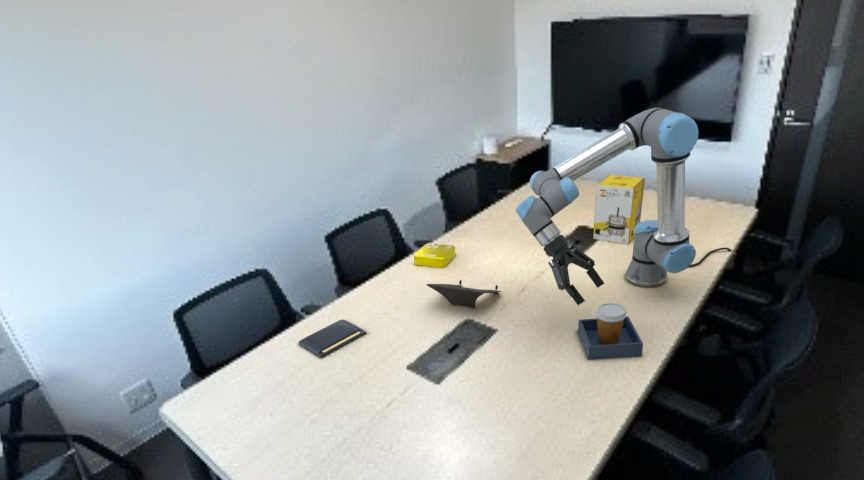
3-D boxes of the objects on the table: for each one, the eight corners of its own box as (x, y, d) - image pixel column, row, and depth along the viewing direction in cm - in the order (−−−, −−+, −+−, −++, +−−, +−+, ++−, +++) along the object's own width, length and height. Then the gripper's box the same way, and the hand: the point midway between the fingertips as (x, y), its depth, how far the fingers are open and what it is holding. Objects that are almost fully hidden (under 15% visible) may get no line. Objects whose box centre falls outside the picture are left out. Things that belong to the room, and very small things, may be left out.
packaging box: (639, 231, 250) (645, 177, 237) (628, 244, 239) (633, 188, 226) (605, 226, 258) (609, 174, 245) (593, 238, 247) (596, 185, 234)
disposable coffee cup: (624, 335, 177) (628, 303, 171) (622, 351, 170) (625, 318, 163) (595, 332, 180) (597, 300, 174) (591, 347, 173) (593, 315, 166)
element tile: (413, 264, 238) (412, 255, 236) (427, 251, 250) (426, 241, 247) (444, 268, 233) (443, 258, 230) (457, 254, 244) (456, 244, 242)
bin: (627, 328, 182) (628, 316, 179) (641, 356, 168) (643, 343, 165) (577, 331, 183) (578, 319, 180) (588, 359, 169) (589, 347, 166)
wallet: (342, 316, 200) (366, 329, 191) (343, 320, 201) (367, 334, 192) (295, 338, 189) (318, 354, 180) (297, 343, 190) (319, 358, 181)
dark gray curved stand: (503, 309, 211) (506, 286, 209) (481, 312, 190) (484, 286, 188) (450, 301, 219) (452, 279, 218) (424, 303, 199) (427, 278, 197)
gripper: (563, 233, 182) (600, 283, 182) (523, 261, 166) (564, 316, 166) (578, 221, 176) (617, 273, 176) (538, 248, 160) (581, 305, 160)
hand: (591, 294), depth 171 cm, fingers open, 13 cm apart
